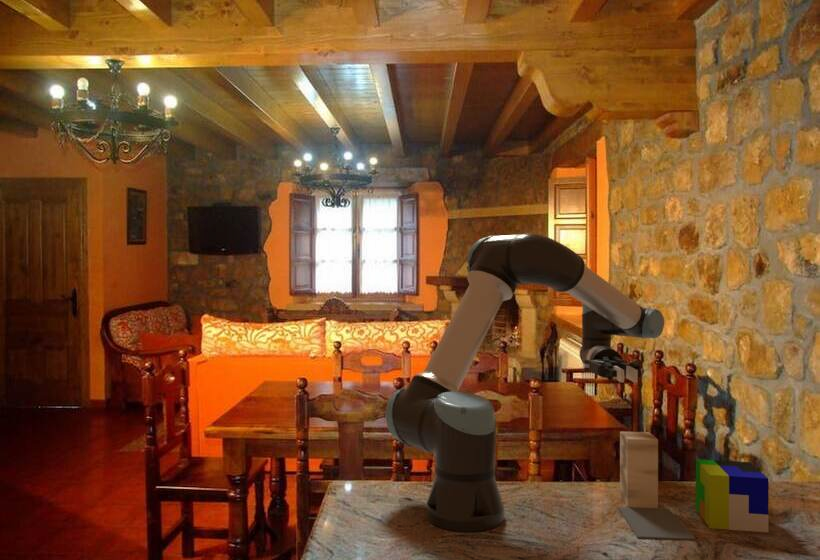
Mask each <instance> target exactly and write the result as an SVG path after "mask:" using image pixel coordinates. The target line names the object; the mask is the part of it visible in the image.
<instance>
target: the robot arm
mask: <svg viewBox="0 0 820 560" xmlns="http://www.w3.org/2000/svg"><path fill="white" fill-rule="evenodd" d="M466 263H467V265H466V270H467V275H466V280H467V281H468V284H469V285H468V286H467V288H466V290H465V292H464V294H463V296H462V298H461V300H460V302H459V304H458V305H457V308H456V310H455V311H454V313H453V315H452V317H451V319H450V321H449V323H448V324H447V326H446V328H445V330H444V332H443V334H442V336H441V337H440V340H439V341H438V343H437V344H436V345H437V346H436V348H435V349H434V352H433V353H432V355H431V357H430V359H429V360H428V362H427V365H426V367H425V368H424V370H423V372H419V373H417V374H416V373H415V374H414V375H413V376H412V378H411V380H410V382H409V384H408V386H407V387H401V388H400V389H397V390H396V391H395V392H393V393H392V395H391V396H390V398H389V399H388V402H387V404H386V408H385V422H386V428H387V429H388V431H389V433H390V435H391V436H392V437H393V439H394V438H395V440H397V441H398V442H401V443H403V444H404V445H405V446H407V447H410V448H411V447H413V448H416V449H419V450H421V451H424V452H426V453H430V454H433V455H435V457H434V458H435V459H434V464H435V466H434V467H435V468H434V470H435V476H434V480H433V481H432V482H433V483H432V485H431V488H430V492H429V495H428V498H427V501H426V512H425V513H426V518H427V520H428V522H430V523H431V524H433V525H434V526H436V527H439V528H442V529H444V530H449V531H454V532H455V531H456V532H481V531H486V530H491V529H493V528H497V527H498V526H499V525H501V524H502V523H503V522H504V519H505V505H504V502H503V500H502V496H501V493H500V490H499V487H498V484H497V481H496V473H495V472H496V471H495V470H496V469H495V467H496V426H497V425H496V424H497V421H496V419H495V418H496V417H495V408H494V405H493V403H492V402H491V401H490V400H489V399H488V398H486V397H484V396H482V395H479V394H476V393H471V392H464V391H459V390H460V388H461V386H462V384H463V381H464V380H465V378H466V376H467V373H468V371H469V370H470V368H471V366H472V365H473V364H472V363H473V361H474V359H475V358H476V356H477V354H478V351H479V350H480V347H481V345H482V343H483V341H484V339H485V337H486V335H487V333H488V332H489V330H490V327H491V325H492V323H493V321H494V319H495V318H496V315H497V314H498V311H499V310H500V307H501V306H502V304H503V302H505V301H508V300H511V299H512V298H513V296H514V294H515V291H516V290H517V288H518V286H520V285H521V286H522V285H524V286H526V285H529V286H530V285H534V286H535V285H536V286H544V287H547V288H550V289H552V290H554V291H555V292H558V293H567V295H570V296H571V297H573V298H574V299H576V300H577V301H578V302H580V303H581V304H582V313H581V326H582V327H581V330H582V331H581V332H582V333H581V334H582V338H581V346H580V349H579V358H580V361H581V362H582V363H583V368H584V369H583V370H584V371H585V372H590V373H592V374H593V375H596V376H600V377H601V378H604V379H607V380H608V381H613V380H614V379H615V380H616V381H618V383H625V378H626V379H627V380H629V381H631V382H632V383H635V384H637V383H638V378H641V377H642V365H641V364H640V363H639V360H636V359H634V360H630V361H629V362H628V361H627V360H625V359H623V357H622V356H621V354H620V353H619V352H618V351H617V350H615V349H613V348H611V347H612V336H617V337H618V336H619V337H620V336H621V337H631V338H639V339H644V340H645V339H657V338H660V336H661V335H662V333H663V332H664V329H665V328H664V327H665V318H664V315H663V313H662V312H661V311H660V310H659V309H656V308H652V307H646V308H645V307H642V306H641V305H640V304H638V303H637V302H635V301H634V300H633V299H632V298H630V297H629V296H627V295H626V294H625V293H623V292H621V291H620V290H619V289H618V288H616V287H615V286H614V285H612V284H611V283H610V282H608V281H607V280H606V279H604V278H603V277H601V276H600V275H599V274H598V273H596V272H595V271H594V270H592V269H590V268H589V267H588V266H587V265H586V262H585V259H583V257H582V256H580V255H579V254H578V253H577V252H575V251H573V250H572V249H571V248H569V247H567V246H566V245H565V244H562V243H561V242H558V241H557V240H555V239H553V238H550V237H548V236H546V235H542V234H539V233H533V232H531V233H530V232H529V233H518V234H506V235H505V234H504V235H500V234H493V235H489V236H485V237H482V238H480V239H478V240H477V241H475V242H474V243H473V245H472V246H471V247H470V249H469V251H468V252H467V256H466ZM625 376H626V377H625Z"/></svg>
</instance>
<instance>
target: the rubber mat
mask: <svg viewBox="0 0 820 560" xmlns="http://www.w3.org/2000/svg"><path fill="white" fill-rule="evenodd" d="M617 509H618V511H619V512H620V514H621V515H622V517H623V519H624V520H625V521H626V523H627V524H628V526H629V527H630V529H631V530H632V532H633V533H634V535H635V537H636V538H637V539H650V540H651V539H652V540H653V539H654V540H681V541H682V540H683V541H695V540H696V537H694V535H693V533H692V532H690V531H689V530H688V528H687V527H686V526H685V525H684V524H683V523H682V521H681V520H680V519H679V518H678V517H677V515H675V513H674V512H673V511H672V510H671V509H670V508H667V507H666V508H664V507H663V508H661V507H660V508H659V507H658V508H634V507H626V506H625V507H624V506H617Z"/></svg>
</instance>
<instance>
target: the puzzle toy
mask: <svg viewBox="0 0 820 560" xmlns="http://www.w3.org/2000/svg"><path fill="white" fill-rule="evenodd" d="M769 492H770V491H769V477H768V476H766V475H765V474H764V473H763V472H762V471H761V470H760V469H758V468H757V467H756V466H755V465H754V464H752V462H749V461H735V460H734V461H733V460H716V459H697V458H696V459H695V509H696V511H697V510H698V511H697V512H698V513H699V515H700V517H701V518H702V519H703V521H704V522H705V524H706V525H707V527H708V528H709V529H718V530H728V531H729V530H730V531H741V532H742V531H744V532H758V533H769V494H770V493H769Z"/></svg>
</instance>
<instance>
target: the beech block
mask: <svg viewBox="0 0 820 560" xmlns="http://www.w3.org/2000/svg"><path fill="white" fill-rule="evenodd" d="M619 498H620V500H621V502H623V504H624V505H625V507H634V508H659V439H658V438H657V437H656V436H654V434H652V433H651V432H649V431H619Z"/></svg>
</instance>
